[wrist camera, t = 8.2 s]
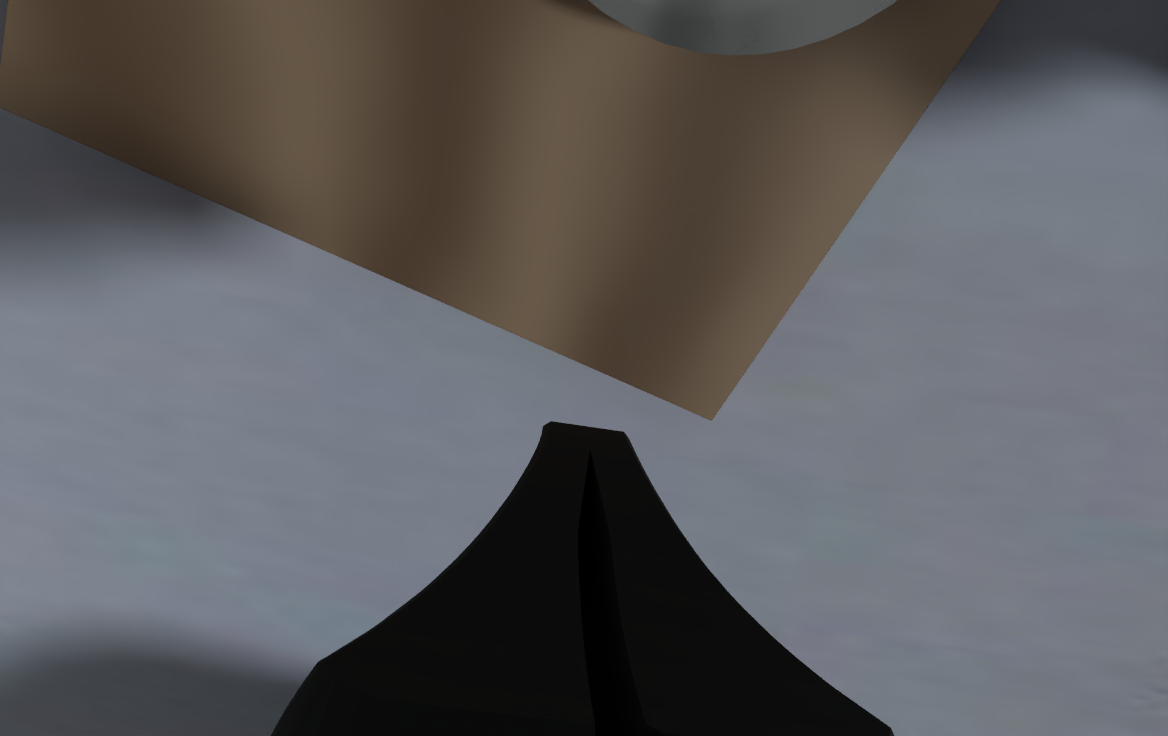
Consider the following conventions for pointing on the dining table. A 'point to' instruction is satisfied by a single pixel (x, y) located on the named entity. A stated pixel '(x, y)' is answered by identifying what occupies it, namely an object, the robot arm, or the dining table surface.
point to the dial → (740, 22)
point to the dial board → (509, 151)
